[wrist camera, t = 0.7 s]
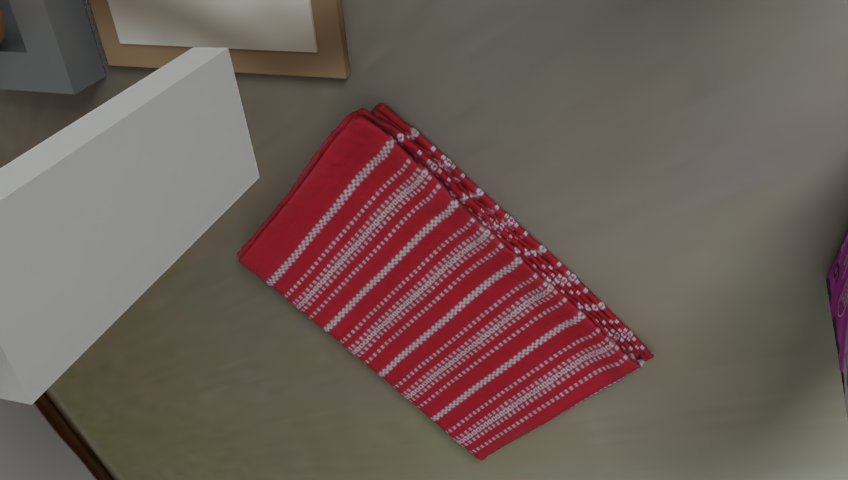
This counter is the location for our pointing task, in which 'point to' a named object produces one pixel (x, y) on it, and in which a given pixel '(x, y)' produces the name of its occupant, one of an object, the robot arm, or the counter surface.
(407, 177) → the dish towel
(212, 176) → the robot arm
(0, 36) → the button
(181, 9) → the brown picture frame
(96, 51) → the button housing
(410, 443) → the counter surface
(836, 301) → the candy bar box
